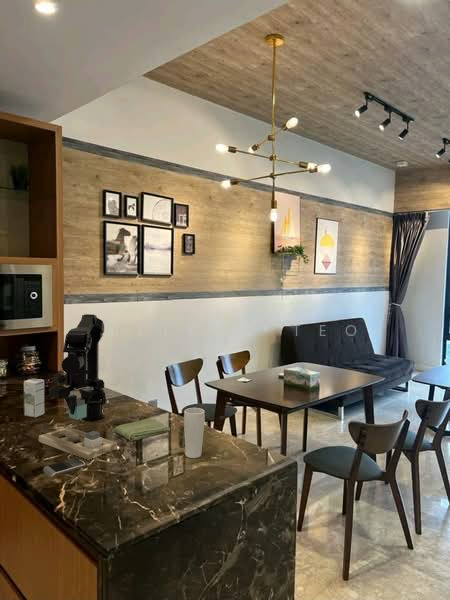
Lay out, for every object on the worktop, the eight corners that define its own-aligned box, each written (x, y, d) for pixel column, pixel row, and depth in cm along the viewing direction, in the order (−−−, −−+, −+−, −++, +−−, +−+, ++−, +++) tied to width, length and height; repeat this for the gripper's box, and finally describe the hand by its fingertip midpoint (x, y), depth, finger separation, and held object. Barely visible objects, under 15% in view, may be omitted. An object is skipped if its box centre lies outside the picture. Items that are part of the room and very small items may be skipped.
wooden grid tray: (67, 431, 166) (67, 426, 166) (117, 448, 152) (117, 442, 152) (38, 441, 156) (38, 435, 156) (88, 460, 142) (88, 454, 142)
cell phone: (86, 468, 137) (86, 463, 137) (50, 478, 130) (50, 474, 130) (77, 461, 142) (77, 457, 142) (42, 471, 134) (42, 467, 134)
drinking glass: (183, 451, 151) (184, 407, 150) (203, 451, 151) (204, 407, 150) (183, 460, 144) (183, 414, 143) (204, 459, 145) (205, 413, 144)
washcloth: (171, 432, 169) (172, 424, 169) (130, 443, 158) (130, 434, 157) (152, 423, 179) (152, 415, 179) (112, 433, 167) (112, 424, 167)
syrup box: (44, 413, 186) (45, 379, 186) (34, 418, 181) (34, 382, 180) (33, 412, 188) (33, 377, 187) (23, 416, 183) (23, 380, 182)
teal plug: (78, 414, 156) (78, 397, 156) (86, 416, 154) (86, 399, 154) (69, 417, 153) (69, 400, 153) (76, 419, 151) (76, 402, 150)
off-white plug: (93, 447, 152) (93, 430, 152) (101, 450, 150) (101, 432, 150) (84, 451, 149) (84, 433, 149) (92, 454, 147) (92, 436, 147)
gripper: (84, 360, 165) (84, 402, 166) (38, 368, 149) (38, 414, 150) (105, 364, 159) (105, 408, 159) (60, 373, 143) (59, 421, 144)
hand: (77, 412), depth 153 cm, fingers closed on teal plug, 4 cm apart
